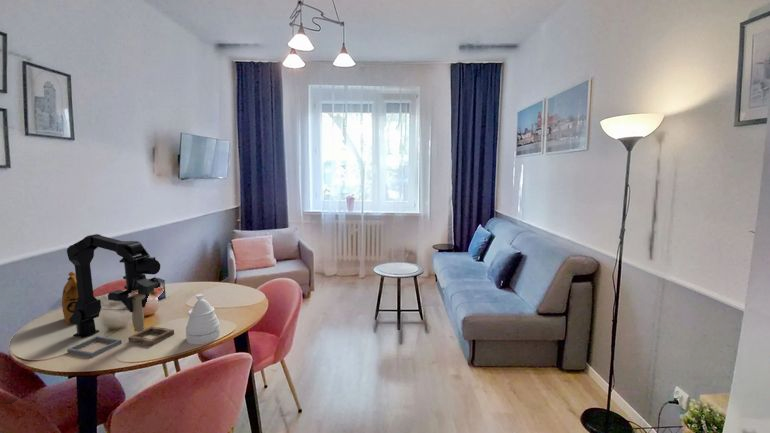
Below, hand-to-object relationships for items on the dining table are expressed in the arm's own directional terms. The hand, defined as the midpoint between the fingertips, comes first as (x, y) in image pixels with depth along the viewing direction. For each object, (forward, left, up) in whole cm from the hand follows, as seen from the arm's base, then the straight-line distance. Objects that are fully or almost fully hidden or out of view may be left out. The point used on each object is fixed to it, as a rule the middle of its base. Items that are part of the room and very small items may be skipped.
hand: (137, 309), depth 149 cm
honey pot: (+23, +10, -14) cm, 28 cm away
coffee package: (-47, +8, -14) cm, 50 cm away
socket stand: (+3, +3, -13) cm, 14 cm away
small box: (-35, +38, -14) cm, 53 cm away
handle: (0, 0, -9) cm, 9 cm away
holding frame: (-11, -10, -13) cm, 20 cm away
